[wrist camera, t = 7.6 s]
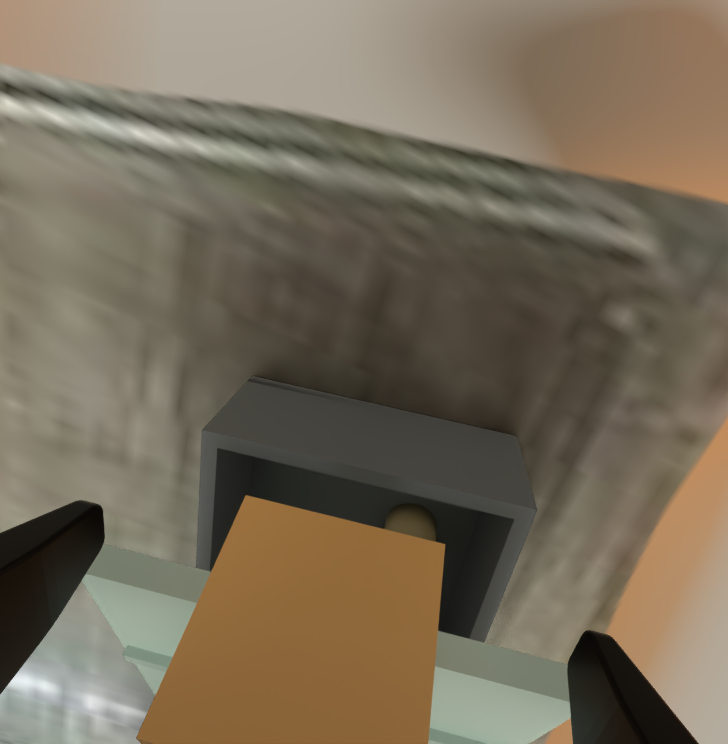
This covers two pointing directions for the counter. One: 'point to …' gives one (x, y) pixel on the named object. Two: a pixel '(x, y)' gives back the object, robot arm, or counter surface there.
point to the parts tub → (374, 483)
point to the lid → (315, 642)
